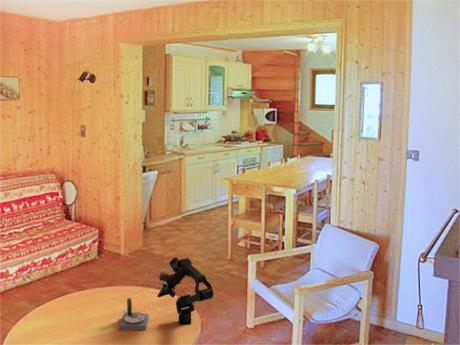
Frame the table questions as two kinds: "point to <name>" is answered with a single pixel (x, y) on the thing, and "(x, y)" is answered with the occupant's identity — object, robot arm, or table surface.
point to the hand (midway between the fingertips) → (157, 296)
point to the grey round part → (132, 314)
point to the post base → (129, 326)
